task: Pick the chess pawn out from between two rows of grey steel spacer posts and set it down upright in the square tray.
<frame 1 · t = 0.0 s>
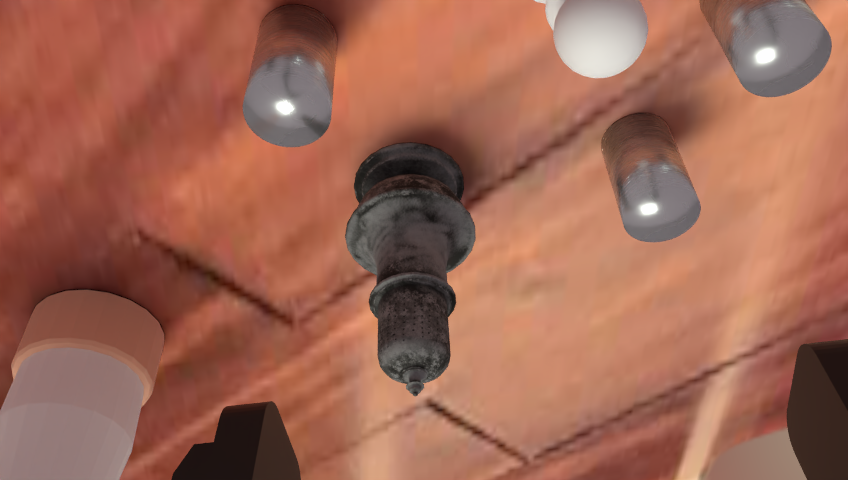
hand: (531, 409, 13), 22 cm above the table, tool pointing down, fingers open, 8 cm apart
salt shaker: (409, 183, 39), on the table
pepper shaker: (99, 328, 46), on the table
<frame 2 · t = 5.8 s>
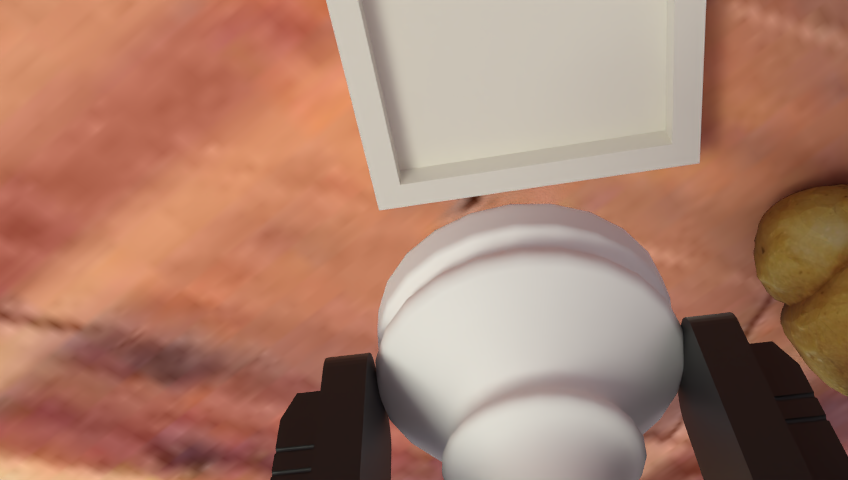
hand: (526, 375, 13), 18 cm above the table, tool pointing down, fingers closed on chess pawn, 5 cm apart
square tray: (515, 18, 28), on the table
chess pawn: (518, 306, 14), point 16 cm above the table, touching gripper
when the fingers open (3 cm above the table, at t = 8.6 s): chess pawn drops 1 cm, resting on square tray.
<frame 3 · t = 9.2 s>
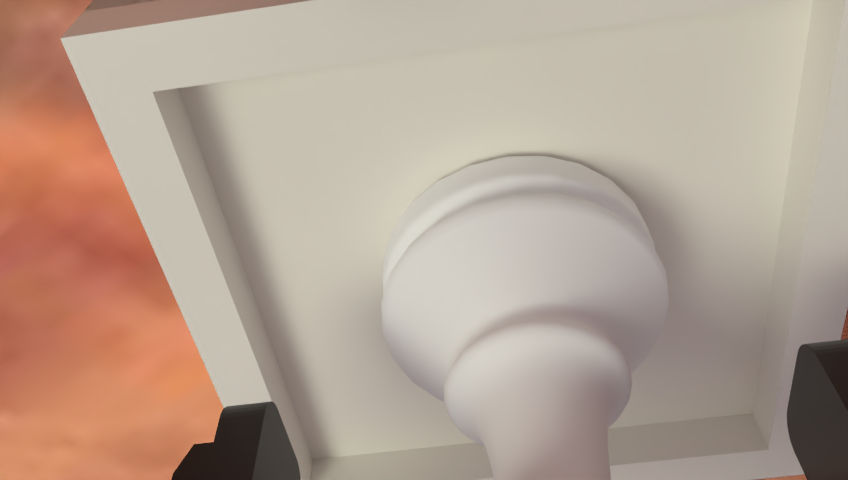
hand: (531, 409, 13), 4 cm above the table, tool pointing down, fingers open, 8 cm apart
square tray: (506, 248, 16), on the table
chess pawn: (513, 257, 15), resting on square tray
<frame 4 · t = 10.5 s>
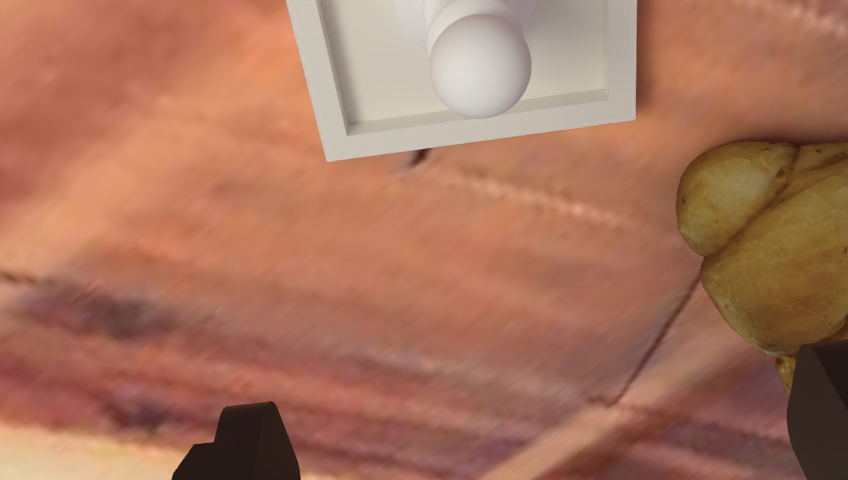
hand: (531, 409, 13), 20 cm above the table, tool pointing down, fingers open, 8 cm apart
bread roll: (792, 205, 36), on the table
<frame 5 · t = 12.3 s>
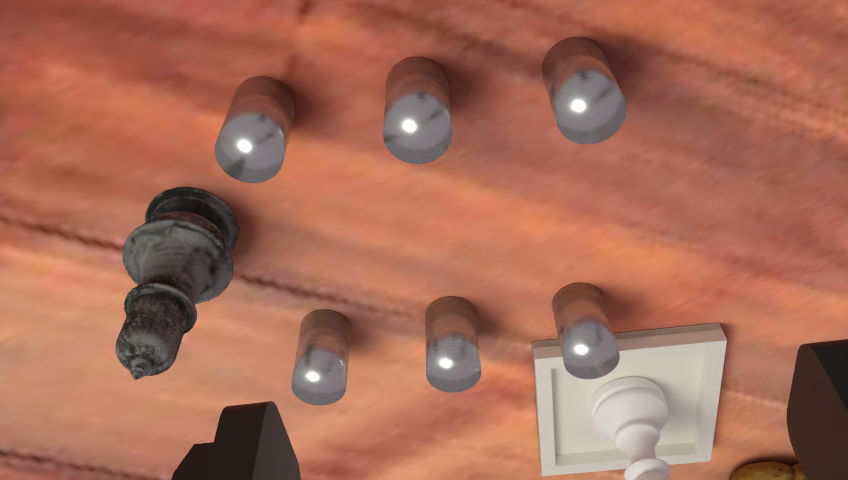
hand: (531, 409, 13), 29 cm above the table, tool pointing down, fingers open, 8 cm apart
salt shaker: (193, 223, 47), on the table
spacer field: (435, 212, 46), on the table
square tray: (622, 395, 56), on the table
chess pawn: (625, 398, 55), resting on square tray
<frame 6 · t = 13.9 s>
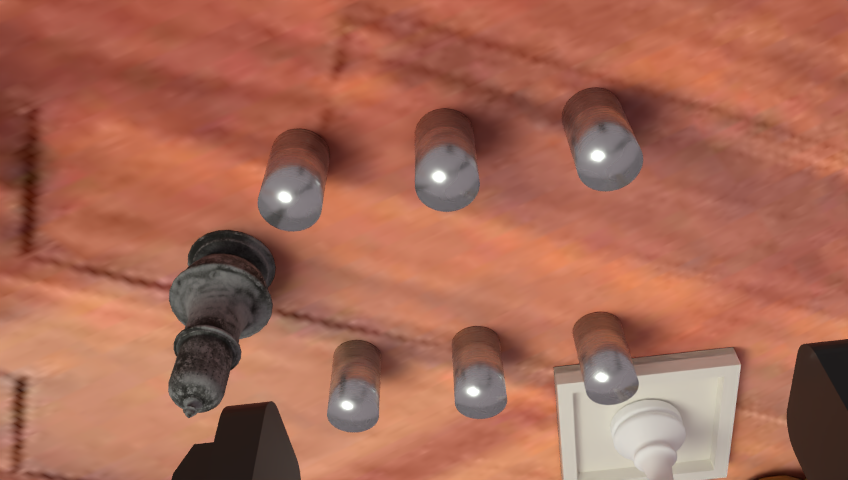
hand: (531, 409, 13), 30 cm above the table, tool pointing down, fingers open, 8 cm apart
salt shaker: (232, 262, 49), on the table
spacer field: (461, 249, 49), on the table
square tray: (641, 415, 58), on the table
chess pawn: (644, 419, 58), resting on square tray
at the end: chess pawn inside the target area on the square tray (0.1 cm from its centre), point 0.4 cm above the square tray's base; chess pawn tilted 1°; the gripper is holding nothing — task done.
